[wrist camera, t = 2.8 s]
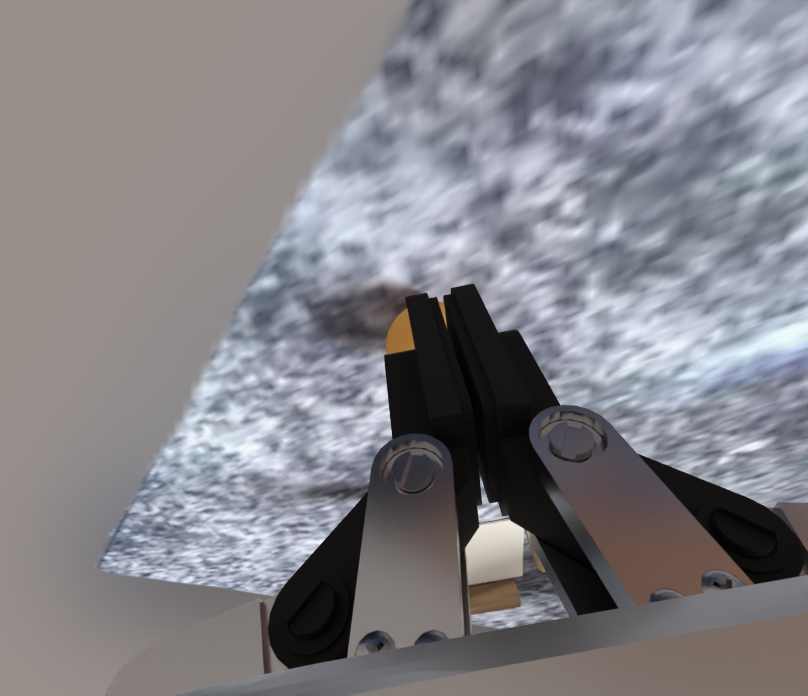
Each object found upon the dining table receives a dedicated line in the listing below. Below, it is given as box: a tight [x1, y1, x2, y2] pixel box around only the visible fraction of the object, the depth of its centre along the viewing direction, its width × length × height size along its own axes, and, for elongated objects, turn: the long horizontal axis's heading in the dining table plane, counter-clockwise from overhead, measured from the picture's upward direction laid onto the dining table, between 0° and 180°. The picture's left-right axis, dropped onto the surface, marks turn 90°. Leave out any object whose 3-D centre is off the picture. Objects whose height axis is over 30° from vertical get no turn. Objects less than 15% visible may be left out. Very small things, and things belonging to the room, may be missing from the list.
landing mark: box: [466, 518, 524, 585], centre depth 49 cm, size 14×14×1 cm
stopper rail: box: [469, 579, 520, 615], centre depth 53 cm, size 2×12×2 cm, turn 99°
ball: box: [386, 301, 447, 354], centre depth 26 cm, size 6×6×6 cm
